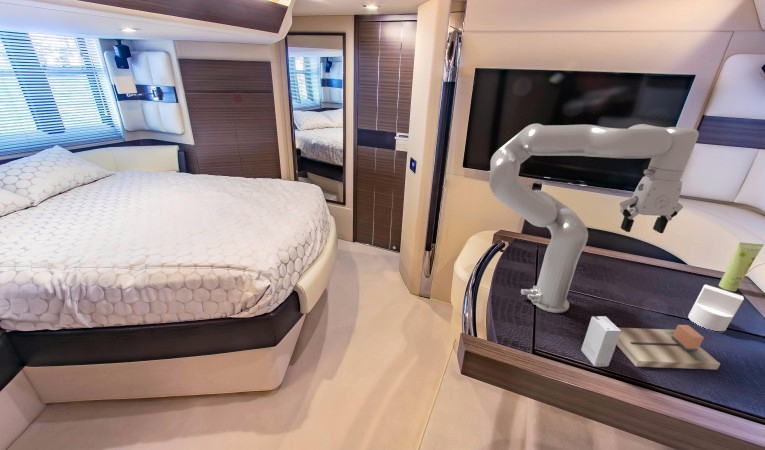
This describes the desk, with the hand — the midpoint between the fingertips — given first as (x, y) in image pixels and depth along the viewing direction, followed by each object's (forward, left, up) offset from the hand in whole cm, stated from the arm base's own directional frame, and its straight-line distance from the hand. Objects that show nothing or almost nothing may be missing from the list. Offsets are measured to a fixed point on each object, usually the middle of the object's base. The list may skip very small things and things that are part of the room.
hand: (641, 230), depth 95 cm
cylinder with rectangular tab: (+30, -3, -31) cm, 43 cm away
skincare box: (-17, -20, -31) cm, 40 cm away
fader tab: (+10, -16, -28) cm, 34 cm away
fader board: (+4, -16, -30) cm, 34 cm away
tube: (+57, +18, -31) cm, 67 cm away
